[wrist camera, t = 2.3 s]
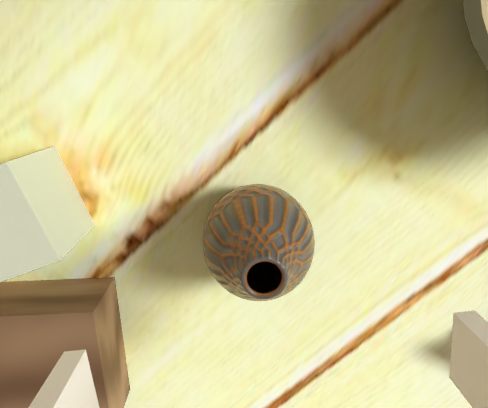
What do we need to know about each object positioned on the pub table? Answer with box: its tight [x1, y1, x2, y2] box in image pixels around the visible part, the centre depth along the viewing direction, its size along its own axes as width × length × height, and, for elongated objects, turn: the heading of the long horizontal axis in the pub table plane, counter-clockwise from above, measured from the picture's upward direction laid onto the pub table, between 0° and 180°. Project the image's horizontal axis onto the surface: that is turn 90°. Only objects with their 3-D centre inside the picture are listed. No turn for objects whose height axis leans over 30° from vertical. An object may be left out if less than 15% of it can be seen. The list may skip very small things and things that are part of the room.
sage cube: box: [0, 146, 95, 282], centre depth 25 cm, size 6×6×6 cm
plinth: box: [0, 277, 130, 408], centre depth 28 cm, size 10×10×5 cm
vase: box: [203, 184, 314, 301], centre depth 24 cm, size 7×7×9 cm
